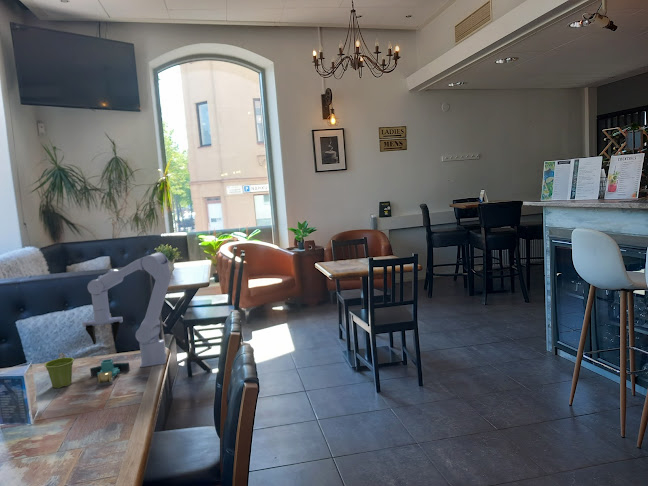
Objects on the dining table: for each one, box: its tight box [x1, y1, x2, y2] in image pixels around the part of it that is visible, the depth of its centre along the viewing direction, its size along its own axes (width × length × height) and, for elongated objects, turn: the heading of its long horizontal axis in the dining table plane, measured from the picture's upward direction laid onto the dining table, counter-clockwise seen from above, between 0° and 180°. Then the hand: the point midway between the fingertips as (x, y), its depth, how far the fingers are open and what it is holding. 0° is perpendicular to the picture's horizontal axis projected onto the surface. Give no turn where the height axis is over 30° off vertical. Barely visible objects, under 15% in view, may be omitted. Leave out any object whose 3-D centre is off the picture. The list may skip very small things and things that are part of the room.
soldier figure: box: [57, 352, 66, 359], centre depth 198 cm, size 8×5×12 cm
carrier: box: [89, 361, 131, 387], centre depth 181 cm, size 14×15×5 cm
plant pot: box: [44, 356, 74, 389], centre depth 177 cm, size 9×9×9 cm
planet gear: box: [96, 358, 121, 377], centre depth 182 cm, size 8×8×5 cm
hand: (105, 342), depth 195 cm, fingers open, 7 cm apart
